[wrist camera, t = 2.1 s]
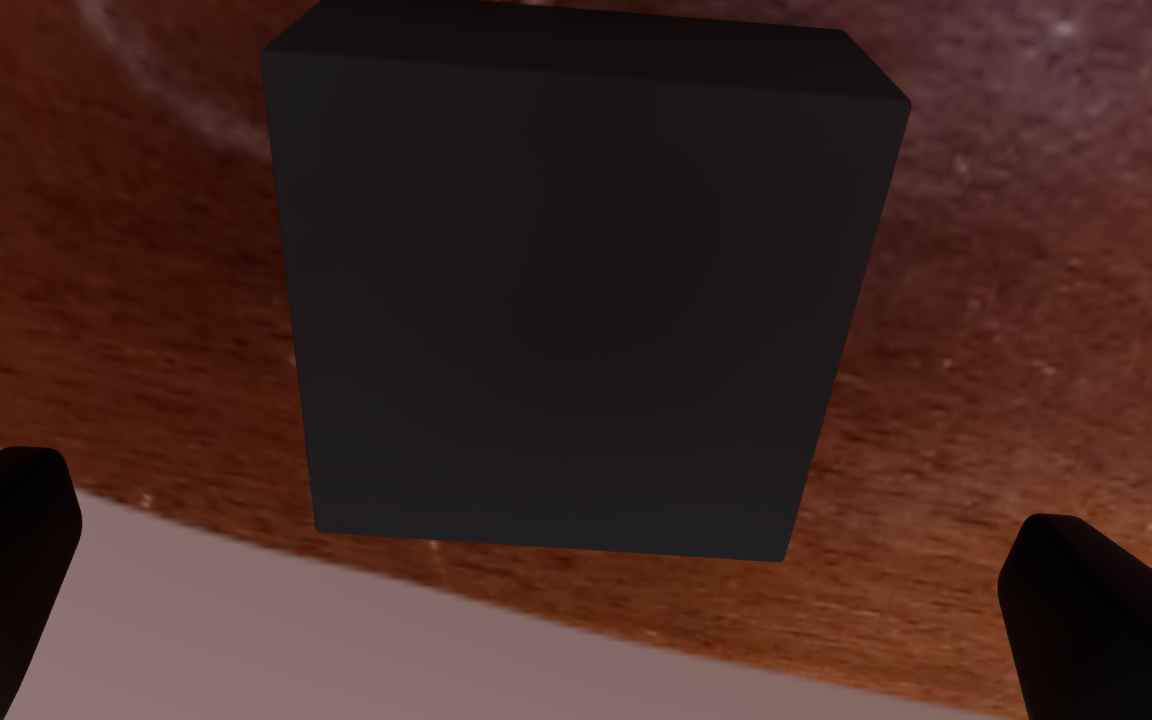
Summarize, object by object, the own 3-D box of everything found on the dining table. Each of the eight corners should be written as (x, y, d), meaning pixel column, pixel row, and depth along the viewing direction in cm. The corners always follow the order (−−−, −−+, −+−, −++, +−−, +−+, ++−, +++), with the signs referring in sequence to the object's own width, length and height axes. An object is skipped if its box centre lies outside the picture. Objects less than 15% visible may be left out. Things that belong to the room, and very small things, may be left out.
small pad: (360, 406, 15) (314, 534, 13) (330, -13, 11) (256, 49, 9) (753, 433, 15) (784, 565, 13) (846, 29, 12) (916, 101, 9)
